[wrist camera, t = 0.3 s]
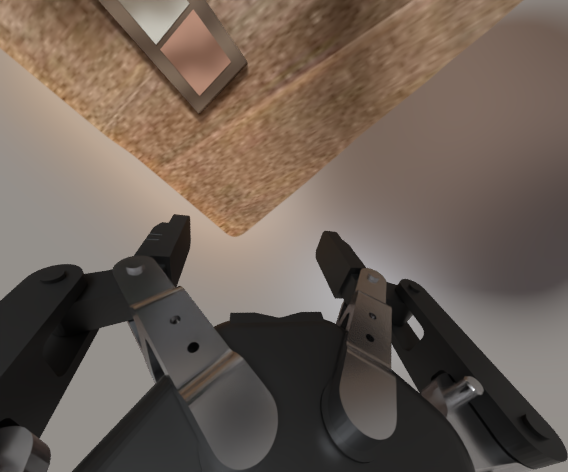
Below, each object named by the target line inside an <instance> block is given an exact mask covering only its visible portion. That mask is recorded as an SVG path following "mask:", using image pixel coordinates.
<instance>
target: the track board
mask: <svg viewBox="0 0 568 472" xmlns="http://www.w3.org/2000/svg"><path fill="white" fill-rule="evenodd" d="M99 2H100V3H101V4H102V5H103V6H104V7H105V8H106V10H107V11H108V12H109V13H110V14H111V15H112V16H113V17H114V19H115V20H116V21H117V22H118V23H119V24H120V25H121V26H122V28H123V29H124V30H125V31H126V32H127V33H128V34H129V36H130V37H131V38H132V39H133V40H134V41H135V42H136V43H137V45H138V46H139V47H140V48H141V49H142V50H143V51H144V52H145V54H146V55H147V56H148V57H149V58H150V59H151V60H152V61H153V63H154V64H155V65H156V66H157V67H158V68H159V69H160V71H161V72H162V73H163V74H164V75H165V76H166V77H167V78H168V80H169V81H170V82H171V83H172V84H173V85H174V86H175V87H176V89H177V90H178V91H179V92H180V93H181V94H182V95H183V97H184V98H185V99H186V100H187V101H188V102H189V103H190V104H191V106H192V107H193V108H194V109H195V110H196V111H197V112H198V113H199V114H200V113H201V112H202V111H203V110H204V109H205V108H206V107H207V106H208V105H209V104H210V103H211V102H212V101H213V99H214V98H215V97H216V96H217V95H218V94H219V93H220V92H221V91H222V90H223V89H224V88H225V87H226V86H227V85H228V84H229V83H230V82H231V80H232V79H233V78H234V77H235V76H236V75H237V74H238V73H239V72H240V71H241V70H242V69H243V68H244V67H245V66H246V65H247V60H246V59H245V58H244V56H243V55H242V53H241V52H240V50H239V49H238V47H237V46H236V44H235V43H234V41H233V40H232V39H231V37H230V36H229V34H228V33H227V31H226V30H225V28H224V27H223V25H222V24H221V22H220V21H219V20H218V18H217V17H216V15H215V14H214V12H213V11H212V9H211V8H210V6H209V5H208V3H207V2H206V0H99Z"/></svg>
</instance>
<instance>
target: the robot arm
mask: <svg viewBox="0 0 568 472" xmlns="http://www.w3.org/2000/svg"><path fill="white" fill-rule="evenodd" d="M190 241H191V238H190V216H185V215H176V214H174V215H173V217H172V218H171V220H170V222H169V223H163V222H162V223H160V224H159V225H157V226H155V227H154V228H153V229H152V230H151V232H150V234H149V235H148V236H147V238H146V239H145V241H144V242H143V243H142V245H141V246H140V248H139V249H138V251H137V252H136V254H135V255H134V256H132V257H128V258H125V259H123V260H121V261H119V262H118V263H117V264H116V265H115V266H114V267H113V269H112V270H108V271H102V272H95V273H88V274H84V273H83V271H82V269H81V268H80V267H79V266H76V265H71V264H62V265H55V266H50V267H47V268H43V269H41V270H38V271H36V272H34V273H32V274H31V275H29V276H28V277H27V278H25V279H24V280H23V281H22V282H21V283H20V284H19V285H17V286H16V287H15V288H14V289H13V290H12V291H11V292H10V293H9V294H8V295H6V296H5V297H4V298H3V299H2V300H1V301H0V472H47V470H48V467H49V465H50V460H51V452H50V448H49V447H48V445H47V444H45V443H44V442H43V441H42V440H40V439H39V438H40V436H41V435H42V433H43V431H44V429H45V427H46V425H47V424H48V422H49V419H50V418H51V416H52V414H53V413H54V411H55V409H56V407H57V405H58V404H59V401H60V399H61V398H62V396H63V394H64V392H65V390H66V389H67V387H68V385H69V383H70V381H71V380H72V378H73V376H74V374H75V372H76V371H77V369H78V367H79V365H80V363H81V361H82V360H83V358H84V356H85V354H86V352H87V350H88V349H89V347H90V345H91V343H92V341H93V339H94V337H95V336H96V334H97V332H98V330H99V328H101V327H105V326H109V325H113V324H117V323H121V322H125V321H127V323H128V325H129V327H130V329H131V331H132V333H133V335H134V337H135V339H136V341H137V343H138V345H139V348H140V350H141V352H142V354H143V356H144V359H145V362H146V364H147V367H148V369H149V372H150V374H151V376H152V378H153V380H154V383H155V385H154V386H153V387H152V388H151V389H150V390H149V391H148V392H147V393H146V395H144V396H143V397H142V398H141V400H139V402H138V403H137V404H136V405H135V406H134V407H133V408H132V409H131V410H130V411H129V412H128V413H127V414H126V415H125V416H124V417H123V419H121V420H120V422H119V423H118V424H117V425H116V426H115V427H114V428H113V429H112V430H111V431H110V432H109V433H108V434H107V435H106V436H105V437H104V438H103V439H102V441H101V442H99V444H98V445H97V446H96V447H95V448H94V449H93V450H92V451H91V452H90V453H89V454H88V455H87V456H86V457H85V458H84V459H83V460H82V461H81V463H80V464H79V465H78V466H77V467H76V468H75V469H74V470H73V471H72V472H528V471H531V470H534V469H538V468H542V467H546V466H549V465H553V464H556V463H560V462H563V461H566V460H567V451H566V449H565V446H564V444H563V442H562V441H561V439H560V438H559V436H558V435H557V434H556V433H555V431H554V430H553V429H552V428H551V426H550V425H549V424H548V423H547V422H546V421H545V420H544V419H543V418H542V417H541V415H539V413H538V412H537V411H536V410H535V409H534V408H533V407H532V406H531V405H530V404H529V402H527V400H526V399H525V398H524V397H523V396H522V395H521V394H520V393H519V391H518V390H516V388H515V387H514V386H513V385H512V384H511V383H510V382H509V381H508V380H507V378H506V377H505V376H504V375H503V374H502V373H501V372H500V371H499V370H498V369H497V368H496V366H494V364H493V363H492V362H491V361H490V360H489V359H488V358H487V357H486V356H485V355H484V354H483V352H482V351H481V350H480V349H479V348H478V347H477V346H476V345H475V344H474V343H473V341H472V340H471V339H470V338H469V337H468V336H467V335H466V334H465V333H464V332H463V331H462V329H461V328H460V327H459V326H458V325H457V324H456V323H455V322H454V321H453V320H452V319H451V317H450V316H449V315H448V314H447V313H446V312H445V311H444V310H443V309H442V308H441V307H440V306H439V305H438V303H437V302H436V301H435V300H434V299H433V298H432V297H431V296H430V295H429V294H428V293H427V291H426V290H425V289H424V288H423V287H422V286H420V285H419V284H417V283H416V282H414V281H411V280H408V279H402V280H401V281H400V282H399V284H398V285H395V284H391V283H388V282H386V280H385V278H384V277H383V276H382V275H381V274H380V273H379V272H377V271H375V270H373V269H369V268H366V267H365V266H364V264H363V263H362V262H361V260H360V259H359V258H358V256H357V255H356V254H355V252H354V251H353V250H352V248H351V247H350V246H349V245H348V244H347V243H346V242H345V241H343V240H342V239H341V237H340V236H339V235H338V233H337V232H331V231H324V232H323V234H322V236H321V239H320V242H319V244H318V247H317V249H316V260H317V262H318V264H319V266H320V268H321V270H322V272H323V274H324V276H325V278H326V281H327V283H328V285H329V287H330V289H331V291H332V293H333V295H334V297H335V298H343V299H344V302H343V303H342V306H341V309H340V312H339V316H338V318H337V322H336V324H335V323H332V322H330V321H327V320H324V319H323V316H322V314H321V312H300V313H296V314H292V315H289V316H286V317H281V318H277V317H273V316H268V315H263V314H259V313H231V314H230V321H227V322H224V323H221V324H219V325H217V326H215V327H213V326H212V324H211V323H210V322H209V321H208V319H207V318H206V317H205V315H204V314H203V313H202V311H201V310H200V309H199V307H198V306H197V305H196V304H195V302H194V301H193V300H192V298H191V297H190V296H189V294H188V293H187V292H186V291H185V289H184V288H183V287H181V286H178V287H177V284H178V281H179V278H180V275H181V273H182V270H183V267H184V264H185V261H186V258H187V255H188V252H189V249H190ZM412 315H414V317H415V318H416V319H417V321H418V322H419V323H420V325H421V326H422V328H423V330H424V336H423V338H422V339H421V340H419V338H418V337H417V335H416V334H415V333H414V331H413V330H412V328H411V327H410V325H409V324H408V323H407V321H408V320H409V319H410V318H411V316H412ZM391 343H392V345H393V347H394V349H395V350H396V352H397V354H398V356H399V357H400V359H401V361H402V363H403V364H404V366H405V368H406V370H407V371H408V373H409V375H410V377H411V378H412V380H413V382H414V384H415V385H416V387H417V389H418V391H419V392H420V393H418V392H417V391H416V390H415V389H414V388H412V387H411V386H410V385H409V384H407V382H405V381H404V380H403V379H402V378H401V377H400V376H398V375H397V374H396V373H395V372H394V371H393V370H392V369H391Z"/></svg>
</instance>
